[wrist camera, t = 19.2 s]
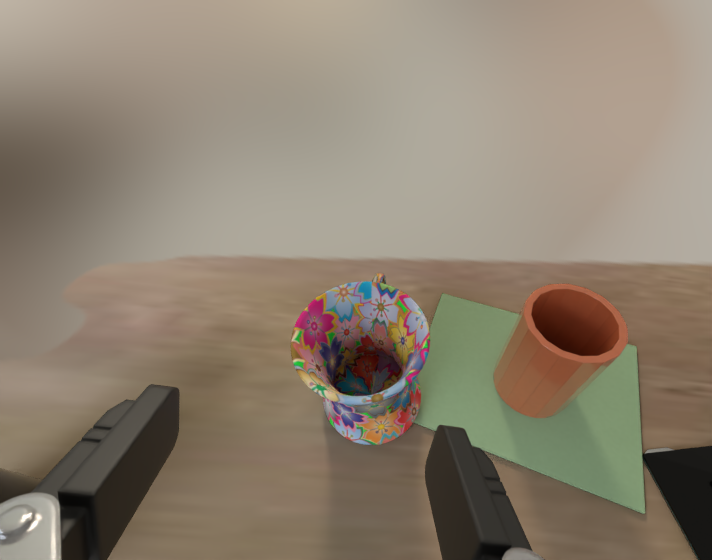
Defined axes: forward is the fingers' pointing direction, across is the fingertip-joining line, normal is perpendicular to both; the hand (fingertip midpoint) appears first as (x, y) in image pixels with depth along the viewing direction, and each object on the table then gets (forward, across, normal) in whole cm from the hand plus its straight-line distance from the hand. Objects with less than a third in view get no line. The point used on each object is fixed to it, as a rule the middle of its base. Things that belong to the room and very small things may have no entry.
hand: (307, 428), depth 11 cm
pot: (+18, -19, +8) cm, 27 cm away
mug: (+19, -6, +11) cm, 23 cm away
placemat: (+18, -18, +8) cm, 27 cm away
